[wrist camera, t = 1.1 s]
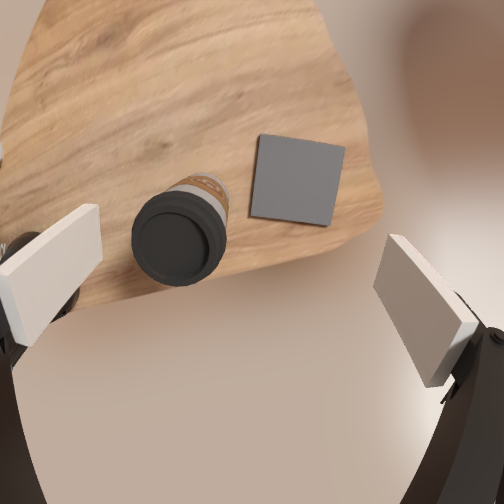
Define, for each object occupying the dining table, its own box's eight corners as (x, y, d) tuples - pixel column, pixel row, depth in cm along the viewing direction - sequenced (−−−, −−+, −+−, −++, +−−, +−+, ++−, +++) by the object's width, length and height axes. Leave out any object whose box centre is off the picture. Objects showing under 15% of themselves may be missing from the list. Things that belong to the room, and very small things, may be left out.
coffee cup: (250, 186, 38) (243, 233, 25) (215, 240, 41) (194, 307, 28) (190, 151, 37) (150, 178, 23) (160, 207, 40) (112, 261, 26)
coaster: (250, 214, 40) (250, 215, 39) (260, 133, 35) (260, 134, 35) (329, 224, 40) (330, 225, 39) (344, 146, 36) (345, 147, 35)
